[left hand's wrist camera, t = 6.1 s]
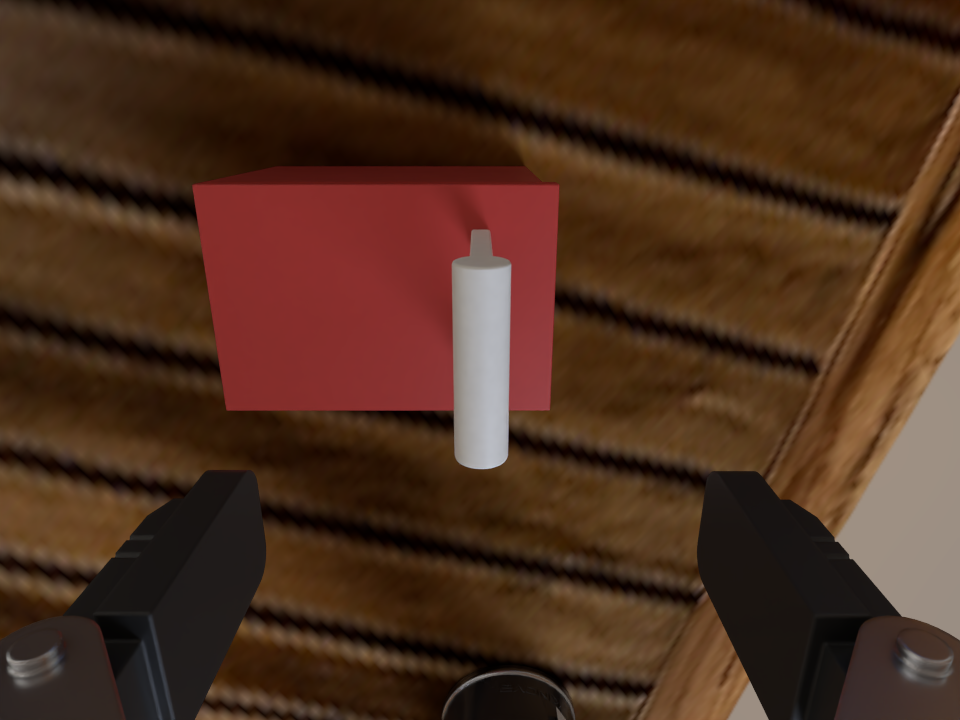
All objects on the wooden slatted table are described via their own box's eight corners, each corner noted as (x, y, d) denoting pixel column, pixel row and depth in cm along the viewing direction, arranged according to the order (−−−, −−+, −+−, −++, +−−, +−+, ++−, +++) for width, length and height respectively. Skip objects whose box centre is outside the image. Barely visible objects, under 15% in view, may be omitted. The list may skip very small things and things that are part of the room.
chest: (525, 166, 33) (543, 181, 24) (522, 333, 36) (535, 401, 27) (275, 166, 33) (201, 182, 24) (293, 334, 36) (234, 401, 27)
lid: (556, 182, 24) (593, 210, 16) (548, 402, 27) (575, 512, 19) (201, 182, 24) (69, 210, 16) (233, 402, 27) (136, 513, 19)
